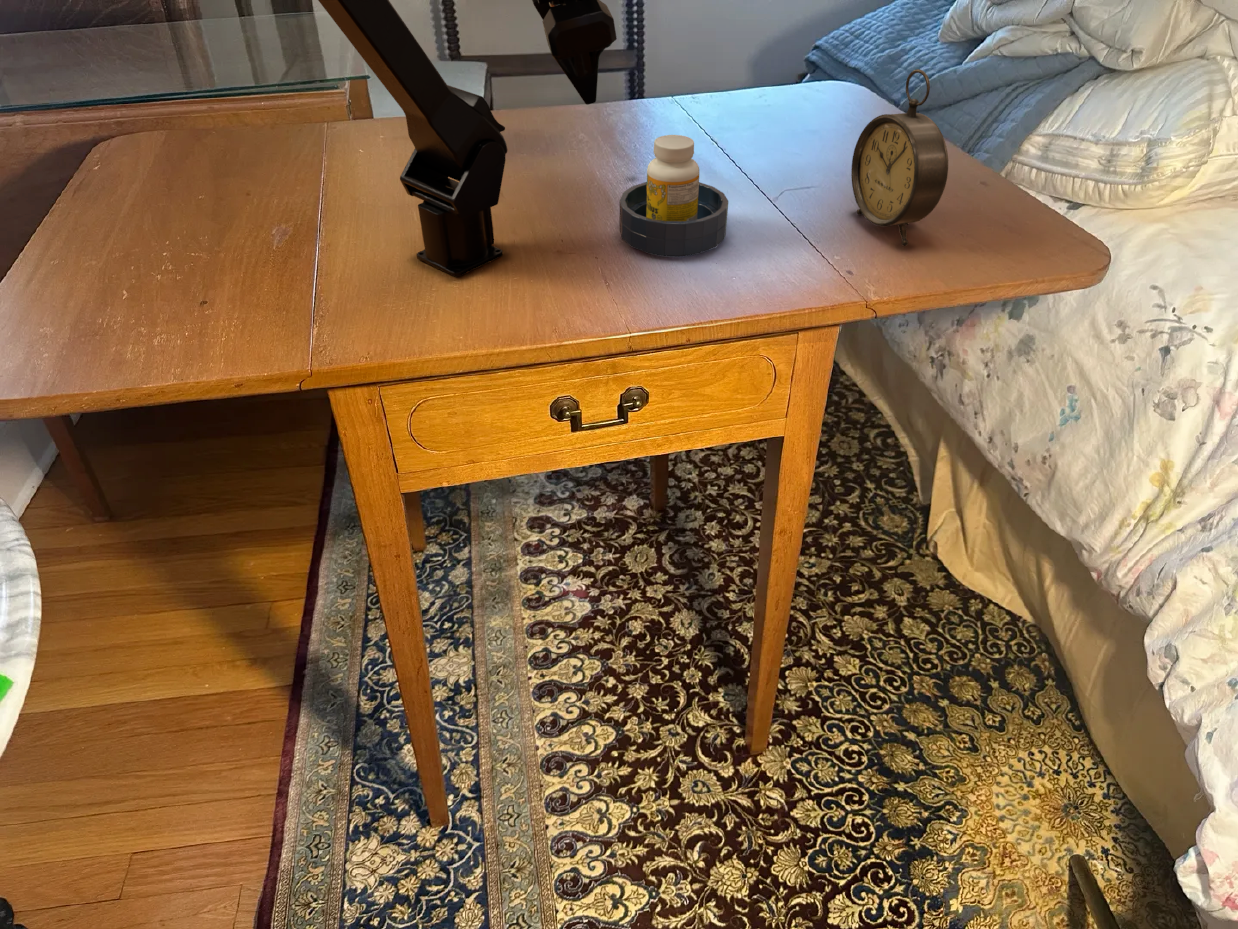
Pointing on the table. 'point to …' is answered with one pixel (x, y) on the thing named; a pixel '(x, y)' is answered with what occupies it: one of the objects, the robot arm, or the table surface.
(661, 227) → the dark gray round dish
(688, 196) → the supplement bottle
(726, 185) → the table surface
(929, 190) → the alarm clock
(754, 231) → the table surface
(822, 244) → the table surface
